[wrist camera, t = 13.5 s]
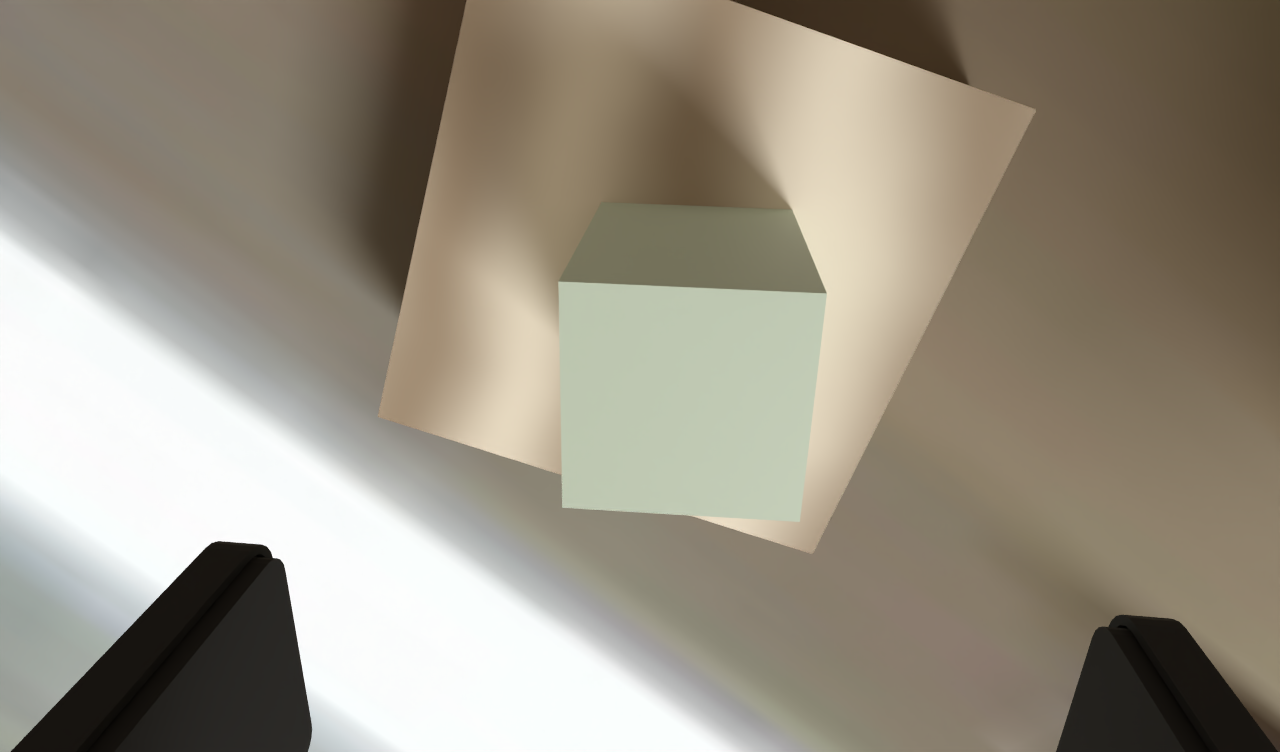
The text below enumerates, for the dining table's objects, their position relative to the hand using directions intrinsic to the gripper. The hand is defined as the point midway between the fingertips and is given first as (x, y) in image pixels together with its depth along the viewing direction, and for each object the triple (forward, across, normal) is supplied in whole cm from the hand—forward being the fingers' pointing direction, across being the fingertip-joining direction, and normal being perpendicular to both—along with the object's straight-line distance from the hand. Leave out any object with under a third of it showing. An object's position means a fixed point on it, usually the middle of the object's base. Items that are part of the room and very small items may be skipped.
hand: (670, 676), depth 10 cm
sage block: (+14, 0, 0) cm, 14 cm away
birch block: (+20, +1, 0) cm, 20 cm away
